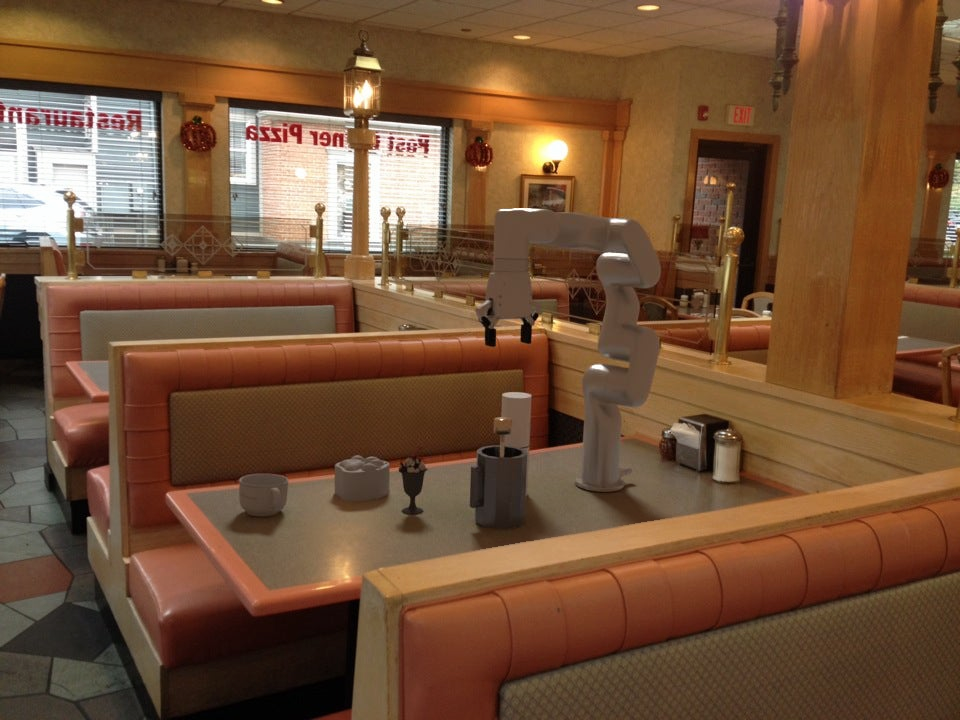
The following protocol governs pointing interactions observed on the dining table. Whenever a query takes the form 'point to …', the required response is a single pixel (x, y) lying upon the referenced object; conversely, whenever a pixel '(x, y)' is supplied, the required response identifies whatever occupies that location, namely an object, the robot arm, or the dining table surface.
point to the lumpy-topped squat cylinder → (362, 479)
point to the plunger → (502, 430)
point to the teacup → (263, 493)
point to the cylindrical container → (518, 421)
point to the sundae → (413, 480)
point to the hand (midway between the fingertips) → (508, 344)
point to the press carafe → (499, 487)
